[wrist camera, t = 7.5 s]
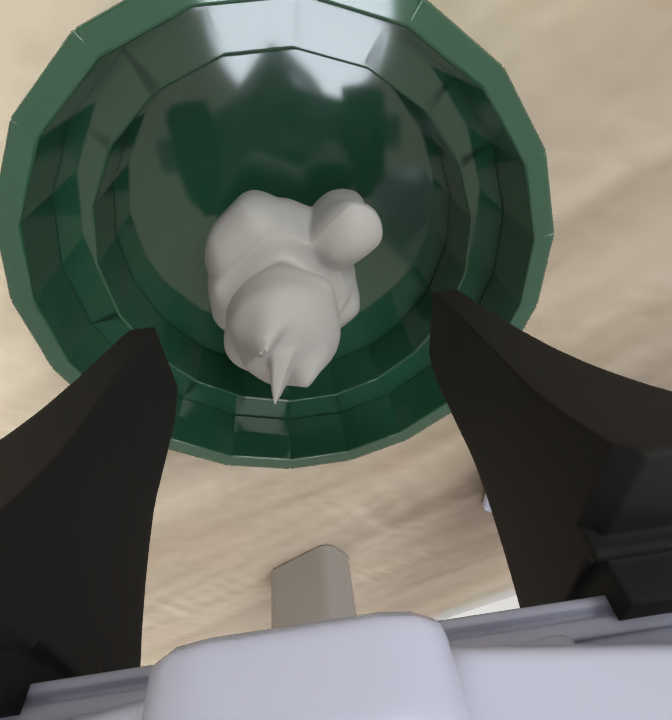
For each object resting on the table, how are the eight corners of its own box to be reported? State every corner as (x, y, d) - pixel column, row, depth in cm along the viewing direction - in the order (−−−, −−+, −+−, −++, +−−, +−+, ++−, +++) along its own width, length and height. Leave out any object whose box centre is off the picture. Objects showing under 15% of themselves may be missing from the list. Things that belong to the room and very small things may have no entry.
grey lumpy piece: (171, 248, 17) (114, 402, 10) (303, 110, 14) (330, 201, 8) (279, 333, 19) (285, 494, 13) (403, 230, 17) (480, 364, 11)
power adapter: (352, 558, 33) (385, 779, 24) (294, 586, 35) (304, 803, 25) (326, 542, 31) (351, 774, 22) (266, 573, 33) (266, 801, 24)
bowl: (464, 362, 22) (506, 438, 19) (152, 403, 22) (127, 492, 18) (520, -55, 13) (628, -75, 9) (-35, -2, 12) (-175, 1, 8)
